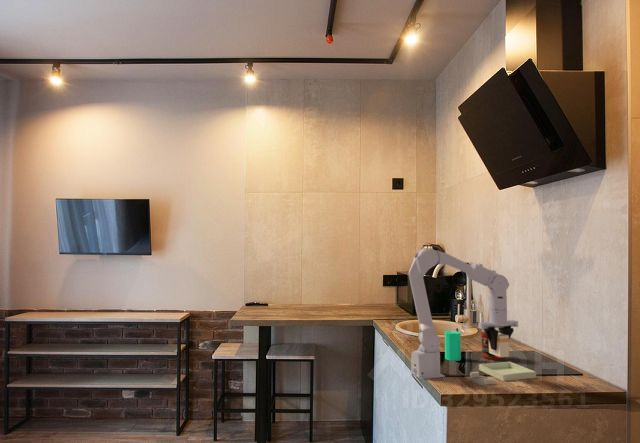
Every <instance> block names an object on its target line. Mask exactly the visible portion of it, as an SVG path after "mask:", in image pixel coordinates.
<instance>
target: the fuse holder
mask: <svg viewBox="0 0 640 443" xmlns="http://www.w3.org/2000/svg"><path fill="white" fill-rule="evenodd" d="M464 378H465V379H467V380H469V381H471V382H473V383H474V384H477V385H479V386H480V387H482V386H492V385H493V386H495V385H500V383H499V382H497V381H495V380H494V378H491V377H490V378H488V377H486V376H484V375H481V374H480V372H479V371H473V372H471V371H470V373H469V376H464Z"/></svg>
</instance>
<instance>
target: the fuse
mask: <svg viewBox="0 0 640 443" xmlns="http://www.w3.org/2000/svg"><path fill="white" fill-rule="evenodd" d="M489 353H491V354H493V355H496V356H498V357H503V358H506V357H508V358H509V357H510V339H509V335H505V334H502V333H498V337H497V349H496V350H493V349H491V346H490V342H489Z"/></svg>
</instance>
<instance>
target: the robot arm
mask: <svg viewBox="0 0 640 443" xmlns="http://www.w3.org/2000/svg"><path fill="white" fill-rule="evenodd" d="M436 265H439V266H440V265H441V266H442V265H447V266H449V267H451V268H454V269H456V270H458V271H461V272H463V273H466V275H467V278H468V279H469V280H472V281H473V282H476V283H478V284H480V285H482V286H485V287H488V314H489V316H488V319H489V320H486V321H481V322H478V323H477V324H478V329H479V330H482V329H484V331H485V333H486V335H487V337H488V339H489V342H490V346H491V349H493V350H496V349H497V337H498V333H499V332H500V333H502V334H505V335H509V340H510V338H511V336H512V334H513V333H514V331H515V330H514V327H515V328H519V320H515V319H512V320H511V319H510V320H508V302H507V300H508V298H507V297H508V296H507V290H508V289H509V286H510V283H509V281H508V279H507V277H506V276H504V275H502V274H499V273H498V272H497V271H496V270H494V269H492V270H491V269H488V268H487V267H485V266H484V265H483V264H482V263H476V262H475V263H472V264H469V263H467V262H465V261H462V260H461V259H458V258H456V257H454V256H452V255H451V254H449V253H446V252H444V251H440V250H435V249H433V248H428V247H422V248H420V249H419V250H418V251H417V252H416V253H415V255H414V256H413V260H412V262H411V266H409V269H408V278H409V282H410V288H411V293H412V298H413V301H414V302H413V303H414V306H415V312H416V316H417V320H418V328H419V331H418V336H417V338H418V340H419V343H420V344H419V346H418V349H417V350H413V351H412V352H411V355H410V370H411V371H410V374H412V375H414V376H415V377H417V378H419V379H420V380H423V379H424V380H425V379H435V378H444V377H446V376H445V375H444V374H443V373H441V348H440V347H441V344H442V343H441V339H440V337H439V335H438V334H437V332H436V328H435V325H434V323H433V322H434V321H433V317H432V313H431V308H430V304H429V300H428V299H429V298H428V294H427V288H426V285H425V280H424V276H425V275H426V273H427V272H428V271H429V270H431V269H432V268H433V267H434V266H436ZM496 329H499V331H498V330H496Z"/></svg>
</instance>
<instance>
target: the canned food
mask: <svg viewBox="0 0 640 443" xmlns="http://www.w3.org/2000/svg"><path fill="white" fill-rule="evenodd" d="M495 329H496V330H498V331H499V329H498V328H495ZM499 333H500V332H499ZM481 356H482V358H483V359H485V360H488V361H490V360H491V361H501V360H503V358H504V357H498V356H496V355H493V354H491V353H489V339H488V337H487V335H486V333H485V331H484V329H481Z"/></svg>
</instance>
